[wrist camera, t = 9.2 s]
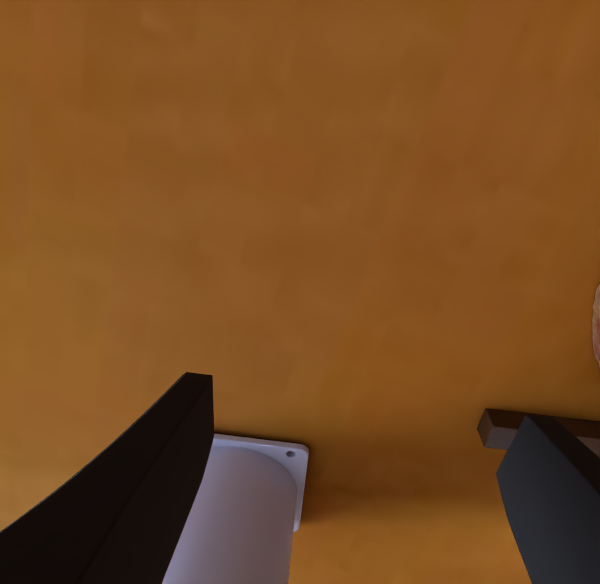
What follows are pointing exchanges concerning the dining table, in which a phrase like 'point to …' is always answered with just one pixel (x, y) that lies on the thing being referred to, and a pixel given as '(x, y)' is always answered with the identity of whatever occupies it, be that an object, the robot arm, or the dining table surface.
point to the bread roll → (596, 325)
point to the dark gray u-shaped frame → (504, 425)
